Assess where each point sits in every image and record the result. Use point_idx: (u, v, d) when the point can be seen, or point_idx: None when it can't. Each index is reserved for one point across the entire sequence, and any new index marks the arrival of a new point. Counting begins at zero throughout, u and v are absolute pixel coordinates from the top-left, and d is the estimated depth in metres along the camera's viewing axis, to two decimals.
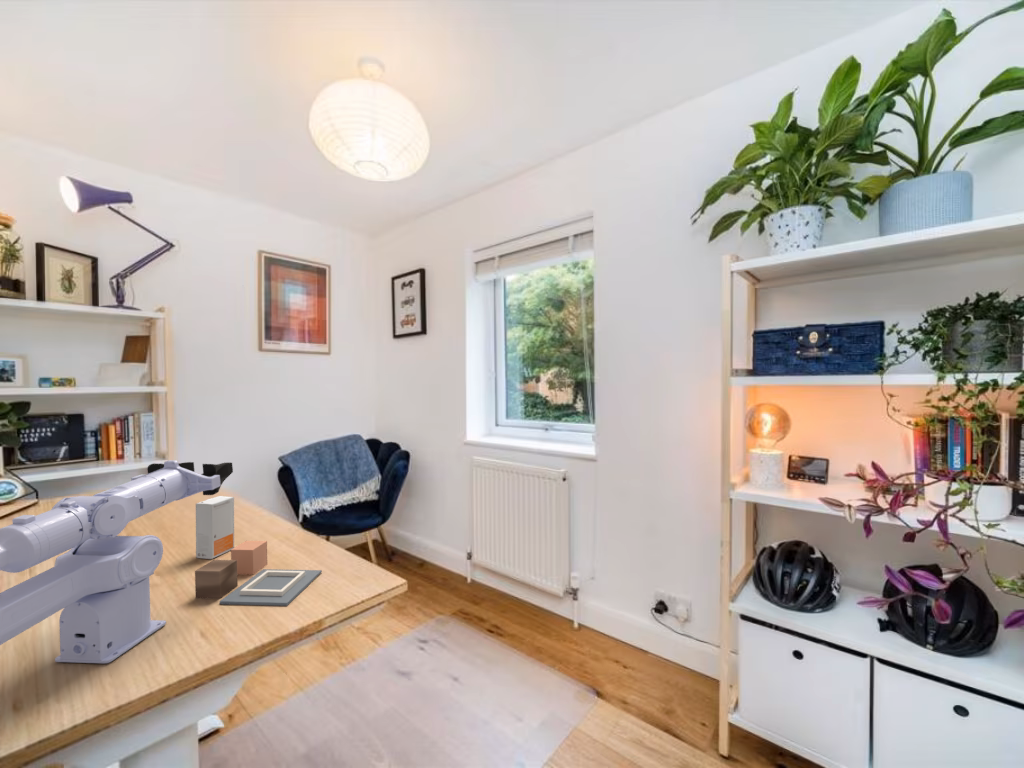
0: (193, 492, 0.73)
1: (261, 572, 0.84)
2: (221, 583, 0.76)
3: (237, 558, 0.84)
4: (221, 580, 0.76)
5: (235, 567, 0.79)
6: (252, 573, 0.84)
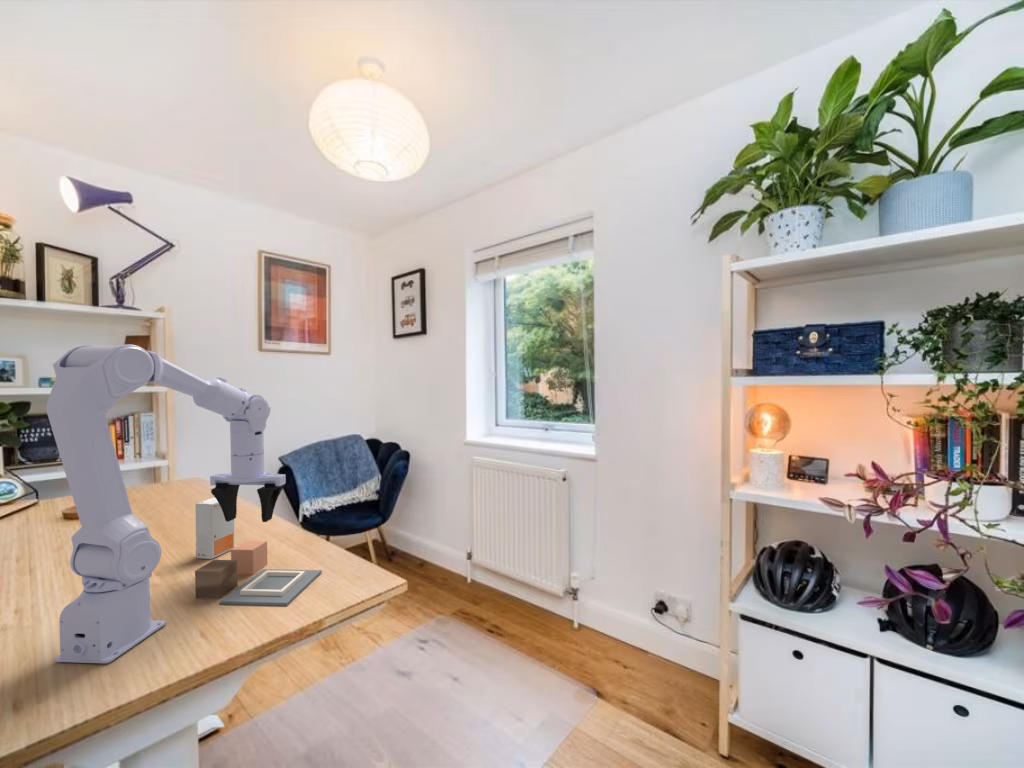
0: None
1: (261, 572, 0.84)
2: (221, 583, 0.76)
3: (237, 558, 0.84)
4: (222, 580, 0.76)
5: (235, 567, 0.79)
6: (252, 573, 0.84)
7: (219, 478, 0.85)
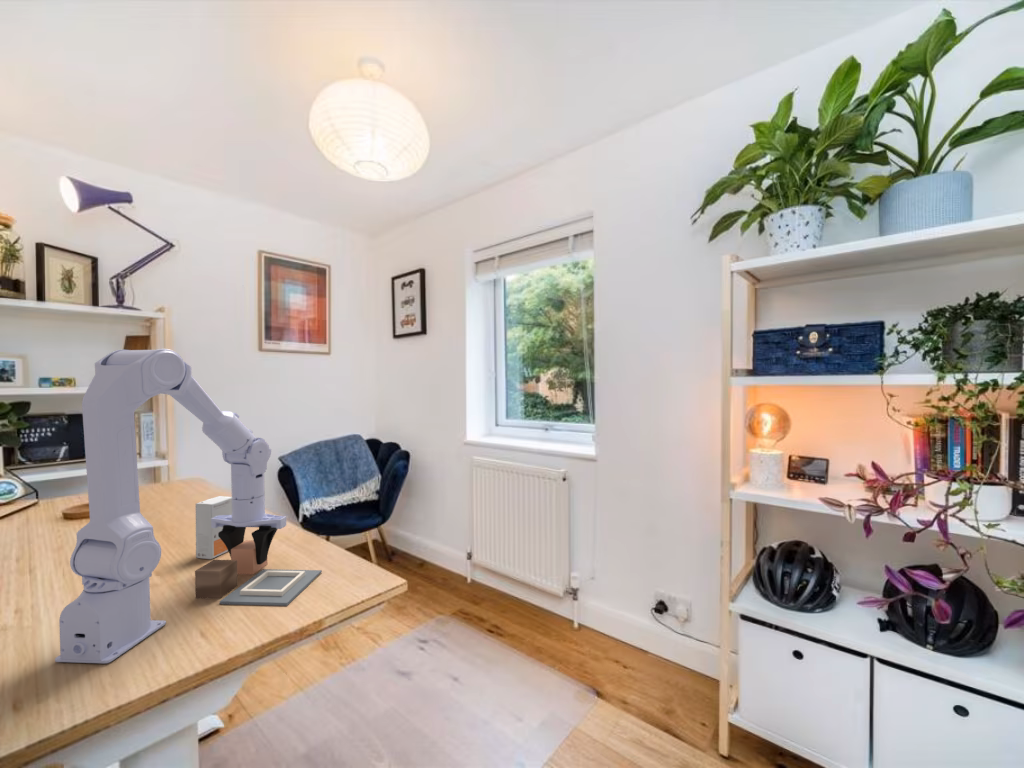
0: None
1: (261, 572, 0.84)
2: (221, 583, 0.76)
3: (237, 558, 0.84)
4: (222, 580, 0.76)
5: (235, 567, 0.79)
6: (252, 573, 0.84)
7: (220, 521, 0.85)
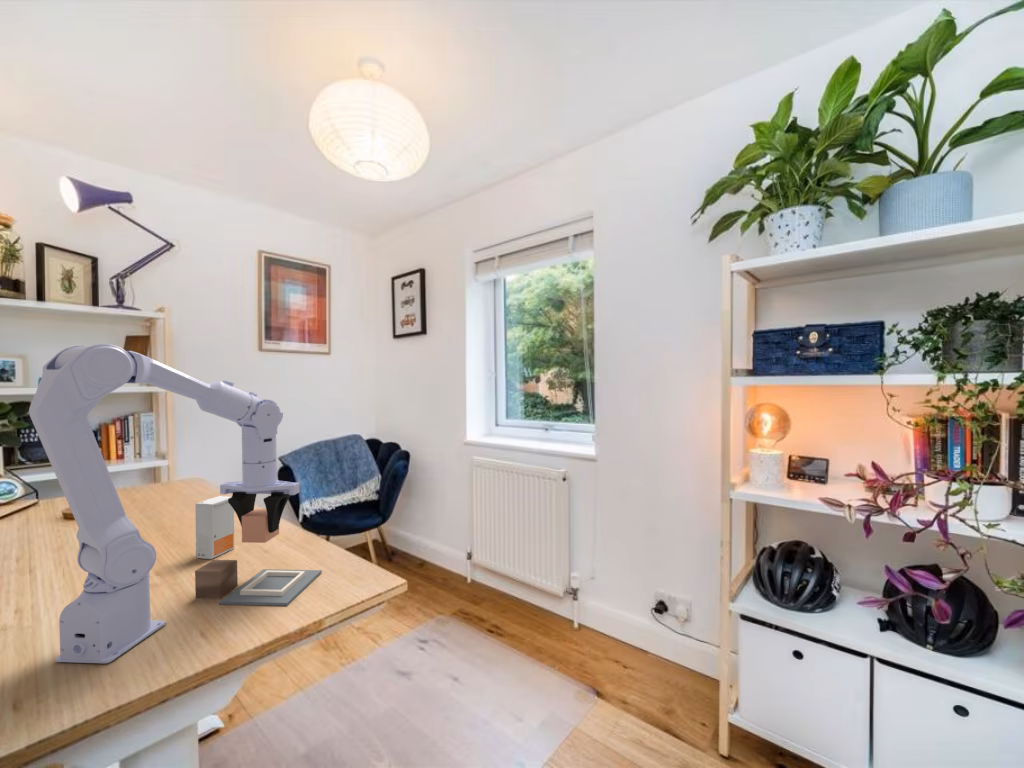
0: None
1: (261, 572, 0.84)
2: (221, 583, 0.76)
3: (248, 525, 0.80)
4: (221, 581, 0.76)
5: (235, 567, 0.79)
6: (264, 541, 0.80)
7: (230, 487, 0.81)
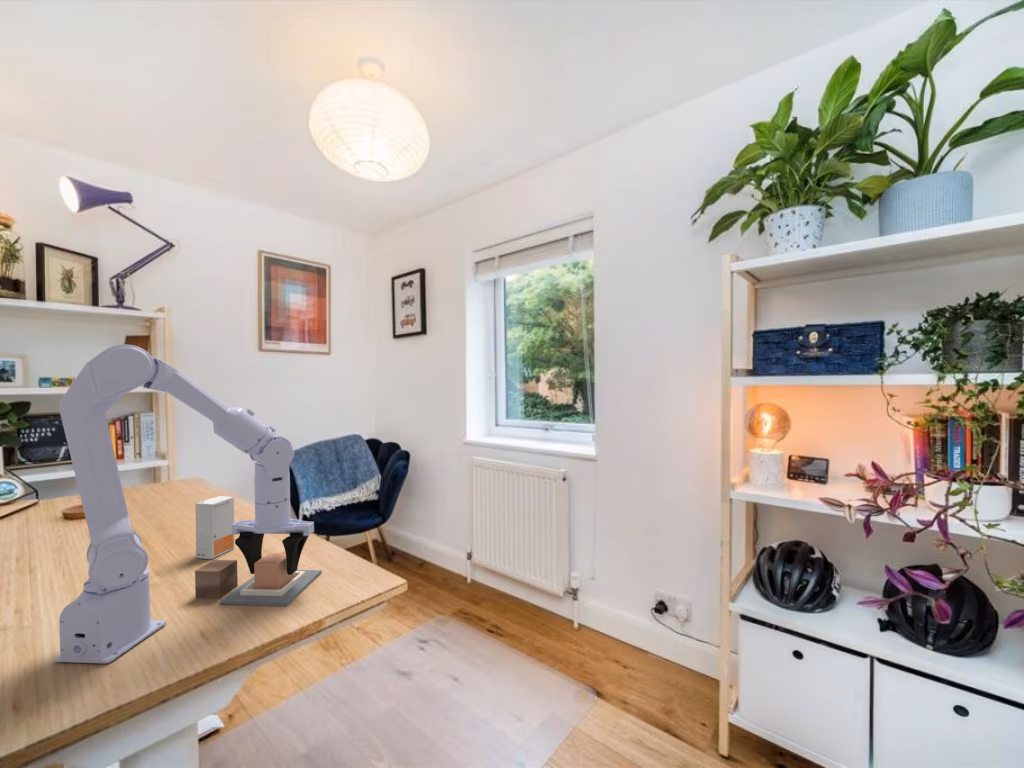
0: None
1: None
2: (221, 583, 0.76)
3: (261, 573, 0.77)
4: (221, 581, 0.76)
5: (235, 567, 0.79)
6: (277, 589, 0.77)
7: (242, 527, 0.78)
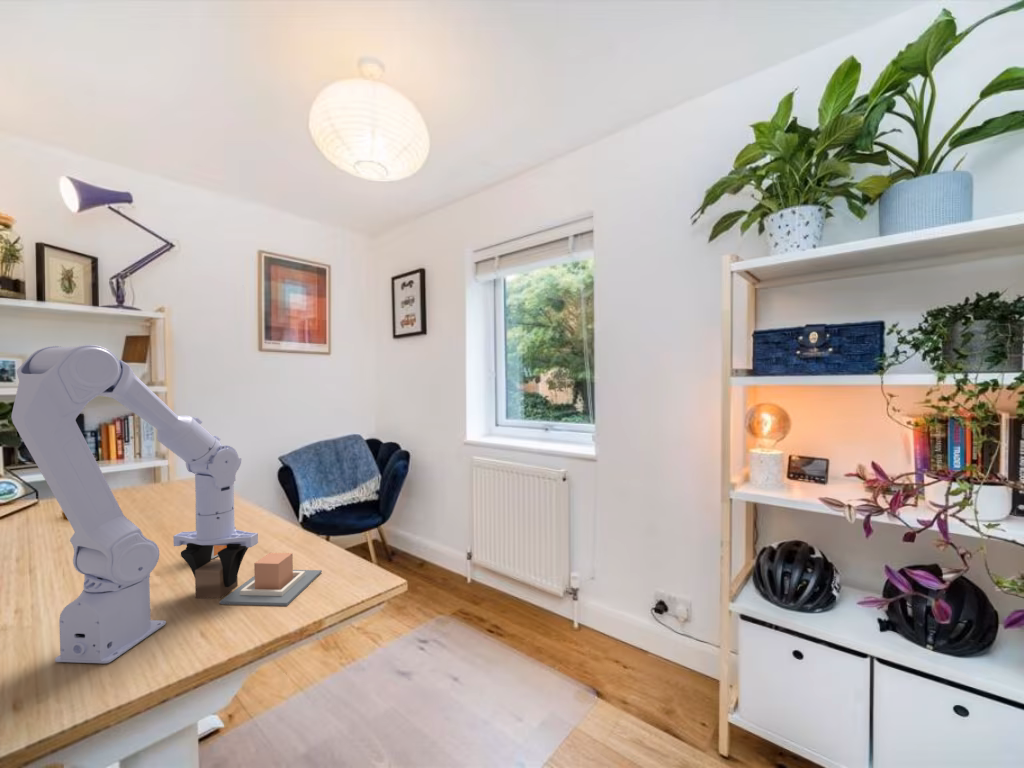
0: None
1: None
2: (221, 583, 0.76)
3: (261, 573, 0.77)
4: (221, 580, 0.76)
5: None
6: (277, 589, 0.77)
7: (183, 538, 0.76)
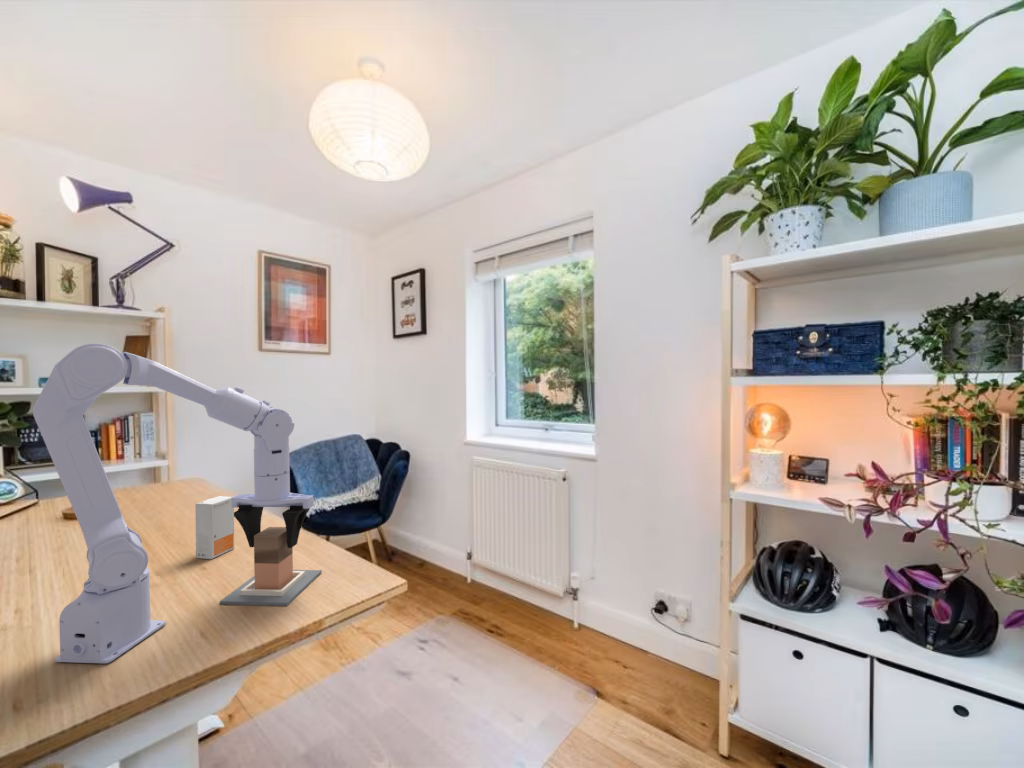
0: None
1: None
2: (279, 548, 0.77)
3: (261, 573, 0.77)
4: (279, 546, 0.77)
5: None
6: (277, 589, 0.77)
7: (241, 500, 0.77)
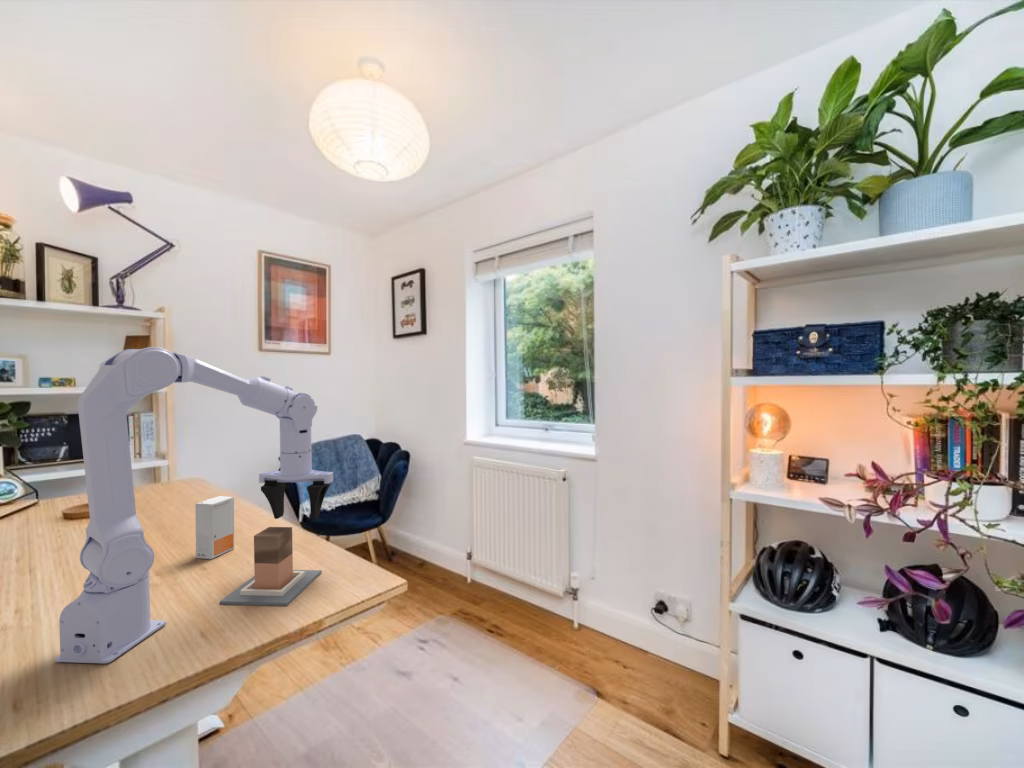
0: None
1: None
2: (279, 548, 0.77)
3: (261, 573, 0.77)
4: (279, 546, 0.77)
5: (290, 534, 0.81)
6: (277, 589, 0.77)
7: (268, 475, 0.85)
